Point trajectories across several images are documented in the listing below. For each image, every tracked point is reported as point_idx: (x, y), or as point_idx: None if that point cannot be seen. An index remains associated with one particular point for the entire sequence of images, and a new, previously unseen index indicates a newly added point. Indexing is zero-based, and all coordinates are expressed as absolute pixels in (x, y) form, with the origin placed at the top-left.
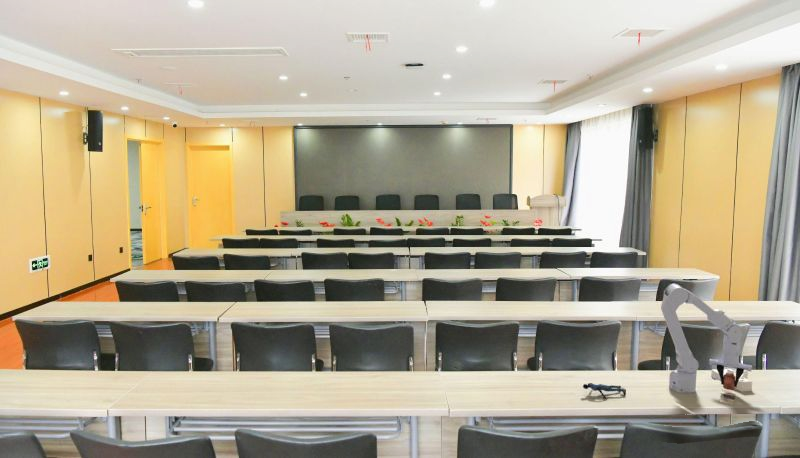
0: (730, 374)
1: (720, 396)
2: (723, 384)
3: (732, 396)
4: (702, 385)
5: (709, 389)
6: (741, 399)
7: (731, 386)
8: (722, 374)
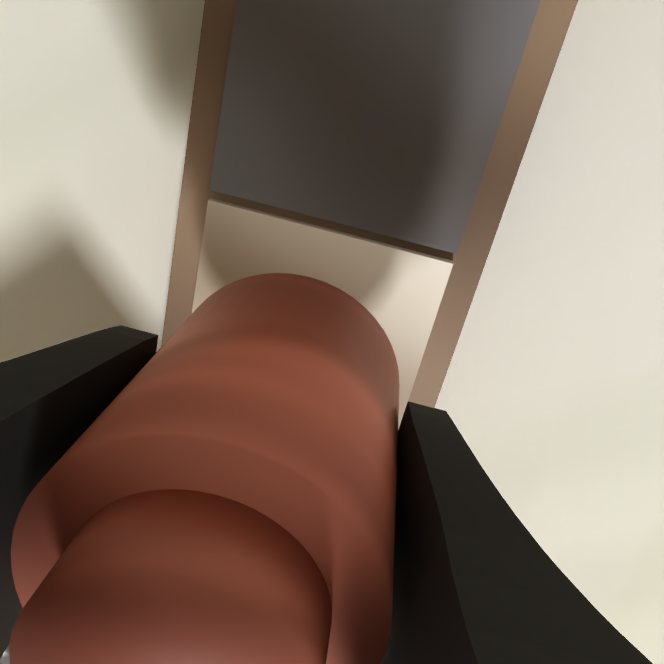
0: (136, 614)
1: (530, 24)
2: (397, 415)
3: (262, 135)
4: (629, 616)
5: (572, 485)
6: (118, 166)
7: (228, 306)
8: (484, 598)
